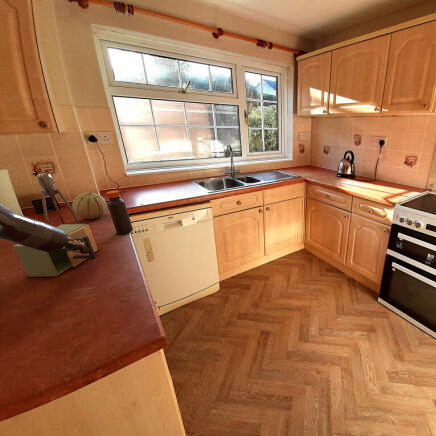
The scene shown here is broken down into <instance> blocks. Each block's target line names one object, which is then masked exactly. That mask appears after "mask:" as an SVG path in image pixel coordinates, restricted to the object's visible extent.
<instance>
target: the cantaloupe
mask: <svg viewBox="0 0 436 436" xmlns="http://www.w3.org/2000/svg"><path fill="white" fill-rule="evenodd" d="M71 207H72V209H73V211H74V213H75V214H76V216H77V217H80V218H82V219H85V220H94V219H98V218H100V217H102V216H103V215H104V214H105V213H106V211H107V208H108V205H107V203H106V199H105V198H104V197H103V196H102V195H101V194H99V193H95V192H92V191H90V192H89V191H87V192H83V193H80V194H78V195H76V196H75V197H74V198H73V201H72V204H71Z"/></svg>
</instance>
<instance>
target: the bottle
mask: <svg viewBox="0 0 436 436" xmlns="http://www.w3.org/2000/svg"><path fill="white" fill-rule="evenodd" d="M105 193H106V197H107V200H108V202H107V203H106V206H107V208H108V211H109V215H110V218H111V220H112V224H113V227H114V229H115V232H116V234H117V235H126V234H130V233H132V232H133V231H134V227H133V224H132V221H131V218H130V214H129V211H128V208H127V205H126V201H125V200H124V199H122V198H121V193H120V190H111V191H110V190H109V191H106V192H105Z"/></svg>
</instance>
